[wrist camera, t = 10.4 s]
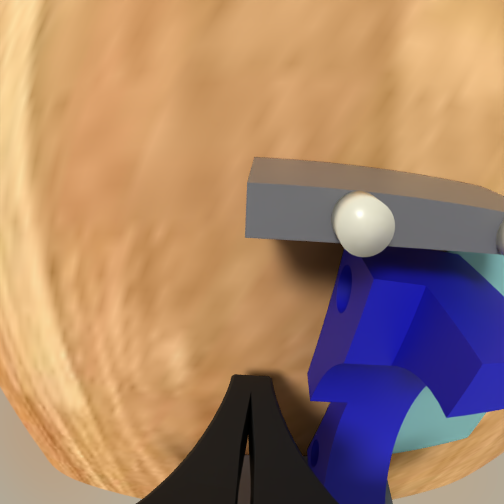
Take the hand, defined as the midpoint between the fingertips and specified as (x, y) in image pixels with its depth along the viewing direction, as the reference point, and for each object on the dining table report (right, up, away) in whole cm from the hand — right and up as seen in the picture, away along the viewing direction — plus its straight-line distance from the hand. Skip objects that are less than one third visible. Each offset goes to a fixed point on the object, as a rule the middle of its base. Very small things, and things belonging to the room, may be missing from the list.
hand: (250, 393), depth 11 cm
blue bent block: (+5, 0, +1) cm, 5 cm away
